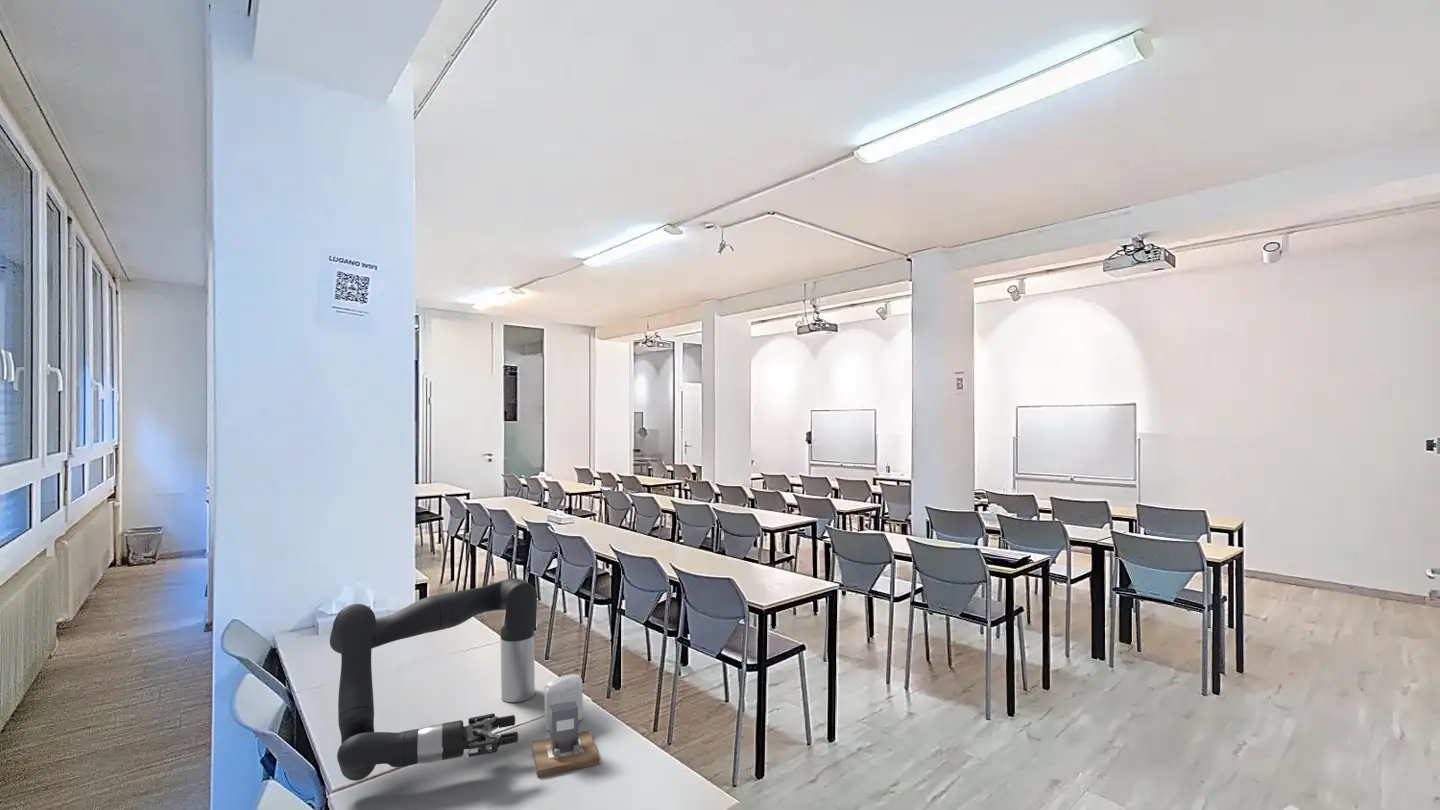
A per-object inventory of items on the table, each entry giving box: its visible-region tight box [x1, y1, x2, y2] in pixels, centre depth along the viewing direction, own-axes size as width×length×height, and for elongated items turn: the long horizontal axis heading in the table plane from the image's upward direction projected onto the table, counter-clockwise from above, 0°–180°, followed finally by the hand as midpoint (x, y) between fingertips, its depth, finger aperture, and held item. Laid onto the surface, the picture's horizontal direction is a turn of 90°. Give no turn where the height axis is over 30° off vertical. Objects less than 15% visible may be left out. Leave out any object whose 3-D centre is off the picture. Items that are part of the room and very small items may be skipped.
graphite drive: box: [549, 701, 579, 755], centre depth 157 cm, size 4×6×10 cm
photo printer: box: [544, 673, 584, 732], centre depth 173 cm, size 10×4×12 cm, turn 134°
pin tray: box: [531, 729, 601, 778], centre depth 157 cm, size 14×14×4 cm
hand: (516, 728), depth 153 cm, fingers open, 8 cm apart
